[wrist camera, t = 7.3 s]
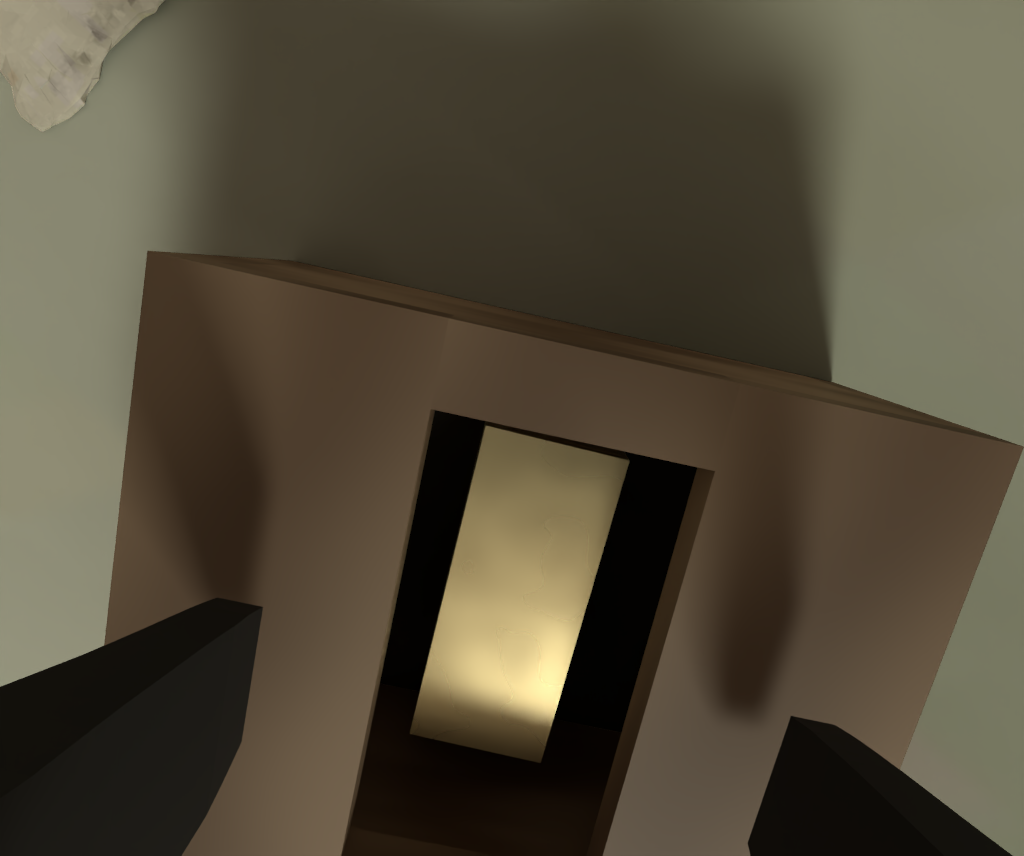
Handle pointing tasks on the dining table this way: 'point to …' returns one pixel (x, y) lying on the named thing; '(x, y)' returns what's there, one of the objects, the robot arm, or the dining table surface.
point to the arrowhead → (60, 51)
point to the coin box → (386, 529)
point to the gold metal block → (517, 589)
